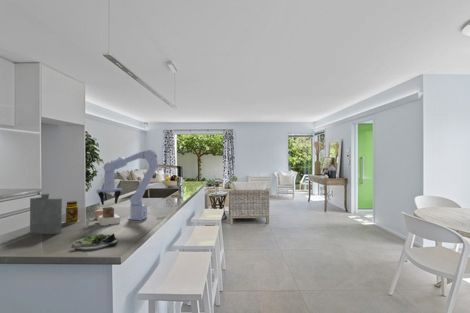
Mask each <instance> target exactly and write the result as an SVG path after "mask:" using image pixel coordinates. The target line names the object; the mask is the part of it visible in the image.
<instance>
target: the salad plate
mask: <svg viewBox="0 0 470 313" xmlns="http://www.w3.org/2000/svg"><path fill="white" fill-rule="evenodd" d="M118 240H119V239H118V238H116V236H115V233H111V234H103V233H102V234H101V233H100V234H94V235H92V236H91V235H90V236H86V237H83V238H80V239H76V240H74V241H73V242H72V245H71V246H70V247H69V248H70V249H77V250H80V249H81V250H82V251H89V250H91V251H93V250H94V251H95V250H99V249H104V248H108V247H112V246H114V245H116V244H118V243H119V241H118Z"/></svg>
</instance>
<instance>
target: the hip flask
mask: <svg viewBox="0 0 470 313" xmlns="http://www.w3.org/2000/svg"><path fill="white" fill-rule="evenodd" d="M49 197H50V193H41V194H40V197H30V198H29V233H30V234H38V235H39V234H41V235H42V234H43V235H51V234H52V235H57V234H62V224H63V223H62V222H63V218H62V216H63V215H62V214H63V212H62V207H63V206H62V203H63V199H62V197H53V198H52V197H50V198H49Z"/></svg>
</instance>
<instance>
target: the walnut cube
mask: <svg viewBox="0 0 470 313" xmlns="http://www.w3.org/2000/svg"><path fill="white" fill-rule="evenodd" d="M102 209H103V217H104V218H109V217H114V214H115V208H114V207H113V206H108V207H102Z"/></svg>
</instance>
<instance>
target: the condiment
mask: <svg viewBox="0 0 470 313" xmlns="http://www.w3.org/2000/svg"><path fill="white" fill-rule="evenodd" d="M65 208H66V209H65V220H64V221H62V224H76V223H78V222H81V221H82V220H79V206H78V201H76V200H73V201H72V200H70V201H67V202H66V207H65Z"/></svg>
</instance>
